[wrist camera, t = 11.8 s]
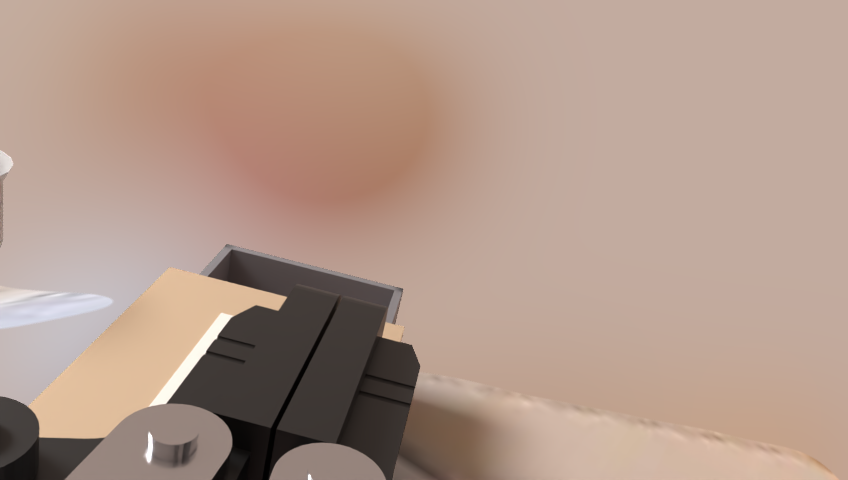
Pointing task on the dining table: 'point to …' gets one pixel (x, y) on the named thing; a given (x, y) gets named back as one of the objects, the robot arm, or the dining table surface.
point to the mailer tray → (297, 278)
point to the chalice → (3, 164)
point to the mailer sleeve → (147, 353)
